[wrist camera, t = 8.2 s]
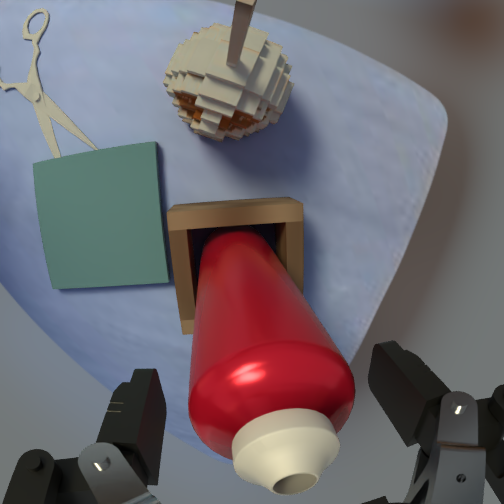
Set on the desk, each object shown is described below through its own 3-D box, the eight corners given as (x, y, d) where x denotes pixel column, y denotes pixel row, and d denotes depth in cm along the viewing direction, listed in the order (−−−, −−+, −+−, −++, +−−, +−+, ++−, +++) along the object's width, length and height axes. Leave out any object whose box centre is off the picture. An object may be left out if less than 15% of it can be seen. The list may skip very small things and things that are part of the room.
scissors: (36, -3, 15) (136, 130, 21) (39, -1, 16) (138, 131, 22) (-34, 75, 16) (47, 217, 22) (-30, 76, 17) (51, 216, 23)
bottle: (244, 209, 24) (352, 372, 5) (281, 263, 26) (411, 464, 7) (187, 248, 25) (137, 475, 5) (227, 299, 26) (262, 534, 7)
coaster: (56, 285, 24) (52, 289, 23) (37, 163, 21) (32, 163, 20) (170, 278, 25) (168, 282, 24) (156, 142, 22) (155, 141, 21)
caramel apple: (161, 122, 22) (86, 67, 7) (199, 37, 20) (189, -88, 6) (255, 155, 23) (320, 144, 9) (290, 69, 22) (380, -23, 7)
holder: (190, 335, 27) (187, 361, 23) (174, 204, 23) (166, 212, 20) (290, 326, 28) (301, 350, 24) (289, 197, 24) (303, 203, 21)
